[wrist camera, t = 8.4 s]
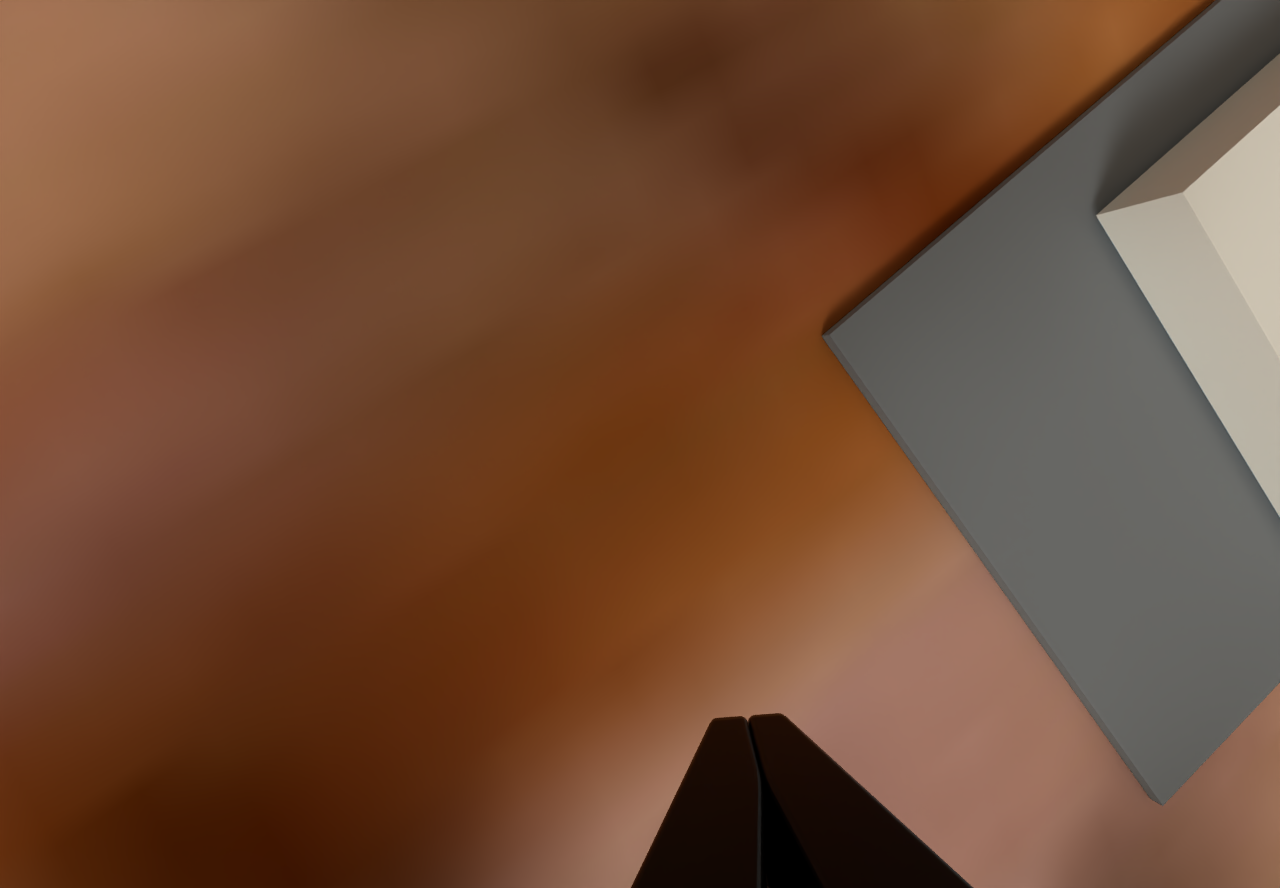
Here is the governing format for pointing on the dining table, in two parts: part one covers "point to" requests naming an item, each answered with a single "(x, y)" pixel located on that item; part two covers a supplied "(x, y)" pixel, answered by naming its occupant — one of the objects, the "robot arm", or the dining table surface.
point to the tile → (1218, 262)
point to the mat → (1091, 422)
